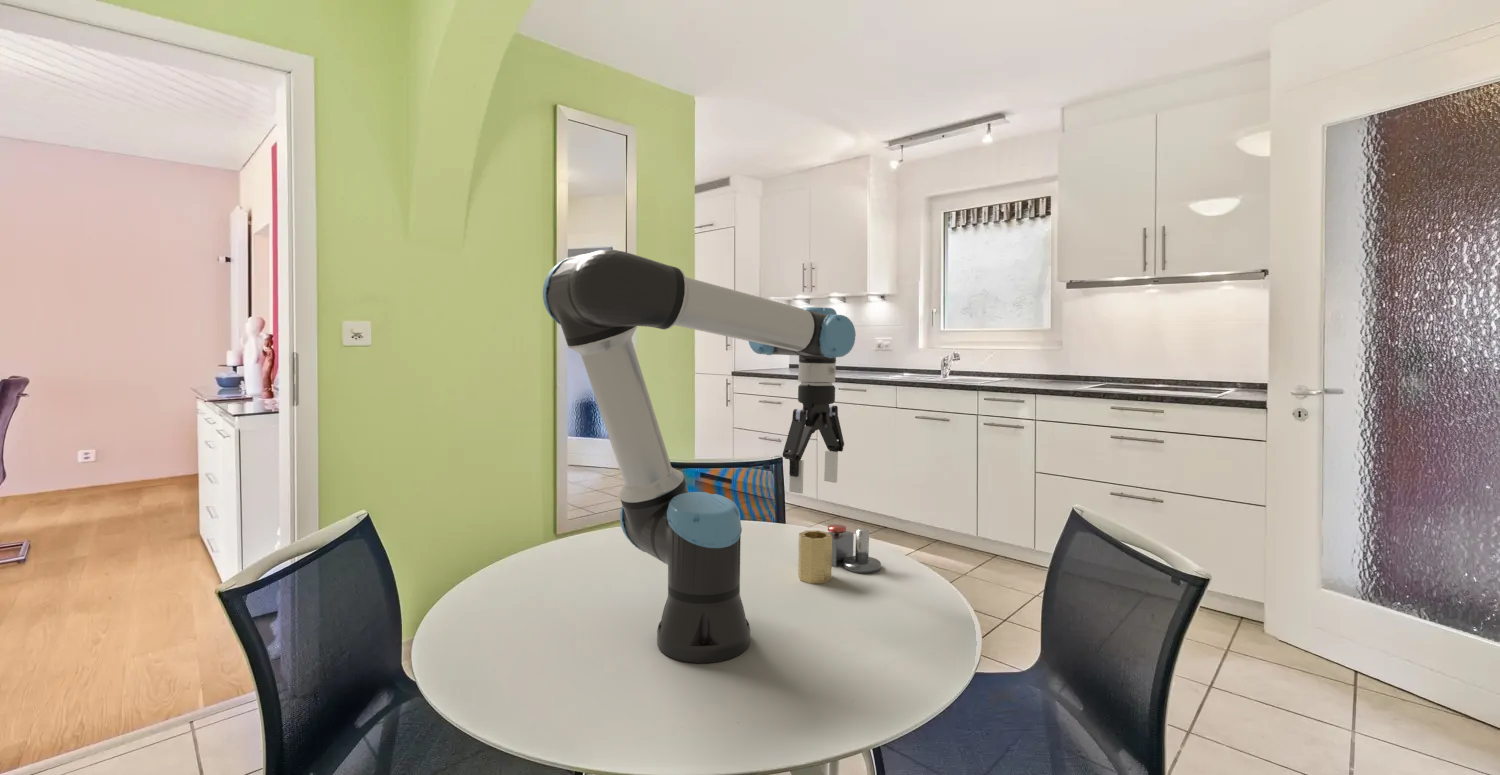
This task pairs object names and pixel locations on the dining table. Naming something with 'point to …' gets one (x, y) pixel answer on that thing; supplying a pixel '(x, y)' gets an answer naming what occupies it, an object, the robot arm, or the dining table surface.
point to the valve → (844, 550)
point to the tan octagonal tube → (815, 557)
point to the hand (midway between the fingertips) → (813, 486)
